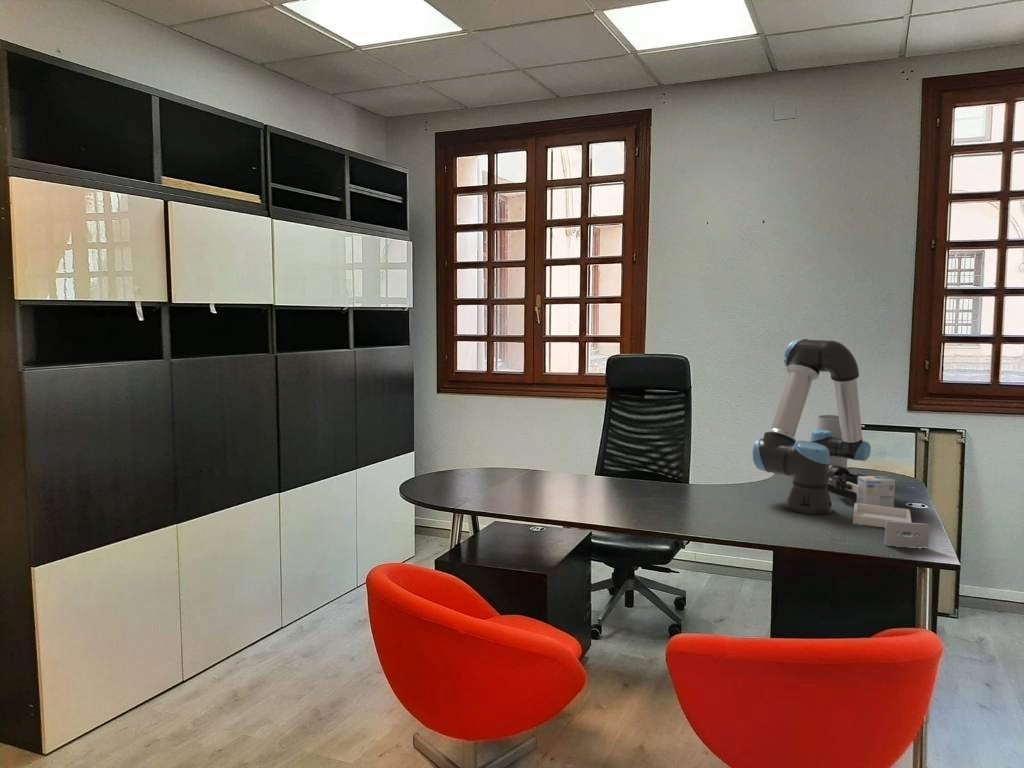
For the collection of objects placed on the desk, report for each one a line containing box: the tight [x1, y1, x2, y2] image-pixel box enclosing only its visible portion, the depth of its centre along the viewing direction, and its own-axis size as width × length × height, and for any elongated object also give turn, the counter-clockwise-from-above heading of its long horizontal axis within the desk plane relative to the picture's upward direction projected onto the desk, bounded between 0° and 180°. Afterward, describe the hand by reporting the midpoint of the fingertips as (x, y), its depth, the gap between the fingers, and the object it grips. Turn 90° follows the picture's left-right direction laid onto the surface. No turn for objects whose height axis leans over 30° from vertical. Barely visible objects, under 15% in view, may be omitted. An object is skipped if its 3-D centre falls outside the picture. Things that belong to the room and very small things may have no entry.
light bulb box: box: [856, 475, 896, 508], centre depth 265 cm, size 11×7×11 cm, turn 92°
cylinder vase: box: [816, 414, 848, 470], centre depth 311 cm, size 12×12×25 cm
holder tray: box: [852, 502, 913, 527], centre depth 249 cm, size 17×17×3 cm
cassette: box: [883, 521, 931, 548], centre depth 223 cm, size 12×2×8 cm, turn 77°
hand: (875, 488), depth 267 cm, fingers open, 13 cm apart
